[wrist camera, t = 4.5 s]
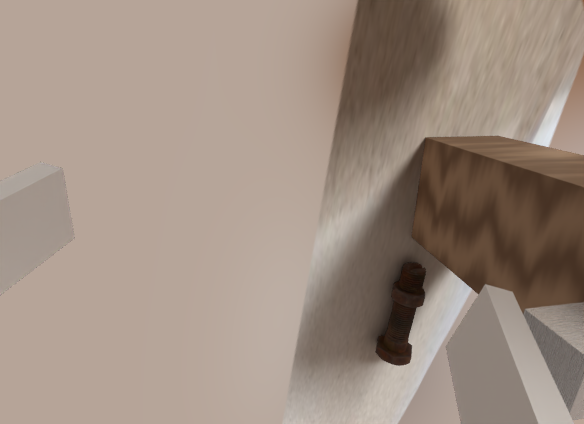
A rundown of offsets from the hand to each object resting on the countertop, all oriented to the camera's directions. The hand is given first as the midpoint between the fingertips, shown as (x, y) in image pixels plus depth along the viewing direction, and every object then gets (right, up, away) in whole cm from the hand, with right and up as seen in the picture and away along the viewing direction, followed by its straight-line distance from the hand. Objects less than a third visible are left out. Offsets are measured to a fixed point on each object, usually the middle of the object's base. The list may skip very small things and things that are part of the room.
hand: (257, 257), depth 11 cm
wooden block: (+23, +5, +38) cm, 45 cm away
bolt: (+17, -12, +44) cm, 49 cm away
